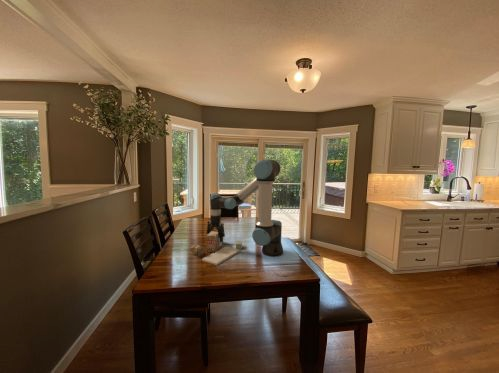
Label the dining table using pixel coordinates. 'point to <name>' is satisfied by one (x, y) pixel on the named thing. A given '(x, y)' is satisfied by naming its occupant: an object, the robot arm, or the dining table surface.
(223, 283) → the dining table surface
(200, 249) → the walnut cylinder
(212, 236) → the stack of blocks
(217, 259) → the board
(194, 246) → the oak cube
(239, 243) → the sage block
